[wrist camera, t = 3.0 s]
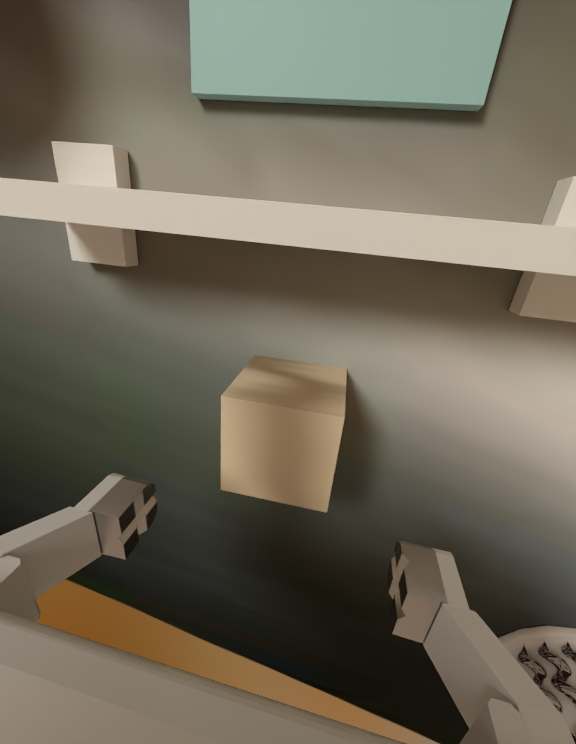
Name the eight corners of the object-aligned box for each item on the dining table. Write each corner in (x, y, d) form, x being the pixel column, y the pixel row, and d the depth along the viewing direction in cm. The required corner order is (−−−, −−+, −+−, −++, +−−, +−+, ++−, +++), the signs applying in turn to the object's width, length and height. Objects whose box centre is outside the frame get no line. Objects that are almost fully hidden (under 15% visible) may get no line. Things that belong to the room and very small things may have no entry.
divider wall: (86, 259, 17) (-11, 266, 12) (69, 147, 15) (-55, 107, 10) (583, 319, 14) (696, 360, 9) (646, 186, 12) (833, 154, 7)
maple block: (251, 430, 19) (220, 489, 15) (255, 354, 17) (221, 396, 13) (333, 446, 19) (326, 512, 14) (346, 368, 17) (344, 417, 12)
